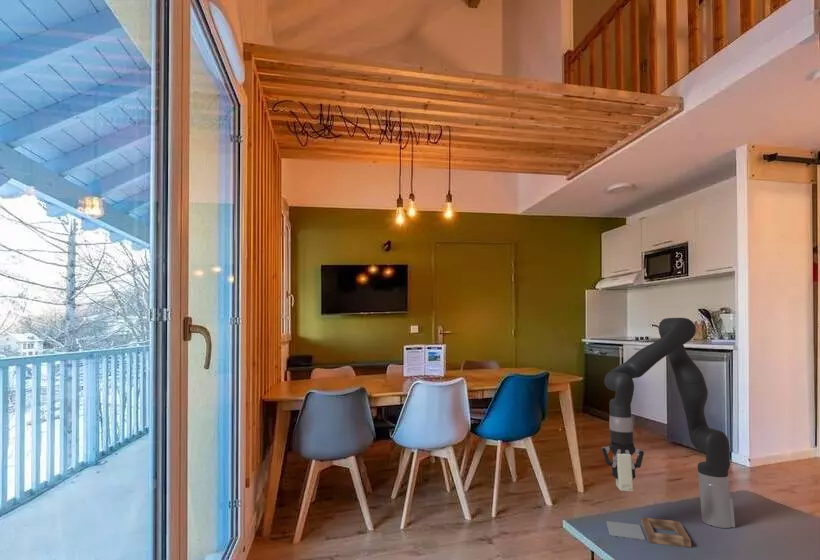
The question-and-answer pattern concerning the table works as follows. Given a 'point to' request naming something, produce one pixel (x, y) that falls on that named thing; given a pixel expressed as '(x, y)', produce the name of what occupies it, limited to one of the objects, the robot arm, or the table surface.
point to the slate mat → (625, 530)
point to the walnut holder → (666, 539)
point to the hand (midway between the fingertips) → (623, 478)
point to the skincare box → (624, 472)
